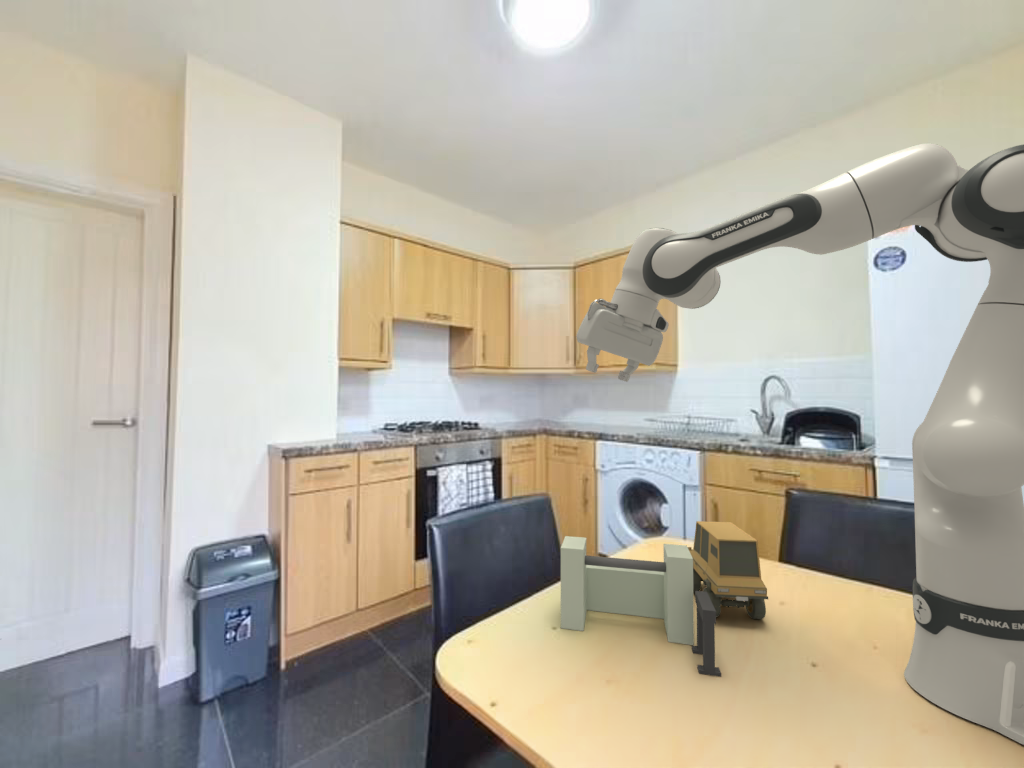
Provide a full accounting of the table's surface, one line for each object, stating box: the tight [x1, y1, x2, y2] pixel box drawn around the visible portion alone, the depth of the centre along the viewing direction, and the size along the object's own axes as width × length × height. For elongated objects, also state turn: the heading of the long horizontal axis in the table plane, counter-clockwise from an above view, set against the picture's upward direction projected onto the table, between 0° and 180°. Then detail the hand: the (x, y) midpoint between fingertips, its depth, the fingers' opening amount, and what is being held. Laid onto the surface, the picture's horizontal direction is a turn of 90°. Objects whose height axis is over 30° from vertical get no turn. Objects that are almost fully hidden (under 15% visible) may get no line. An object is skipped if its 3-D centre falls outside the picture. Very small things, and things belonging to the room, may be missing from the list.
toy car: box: [687, 520, 769, 620], centre depth 88 cm, size 10×19×15 cm, turn 174°
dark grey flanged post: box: [691, 590, 722, 678], centre depth 68 cm, size 3×7×9 cm, turn 166°
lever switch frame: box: [560, 535, 695, 646], centre depth 80 cm, size 22×10×14 cm, turn 76°
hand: (607, 376), depth 90 cm, fingers open, 8 cm apart
